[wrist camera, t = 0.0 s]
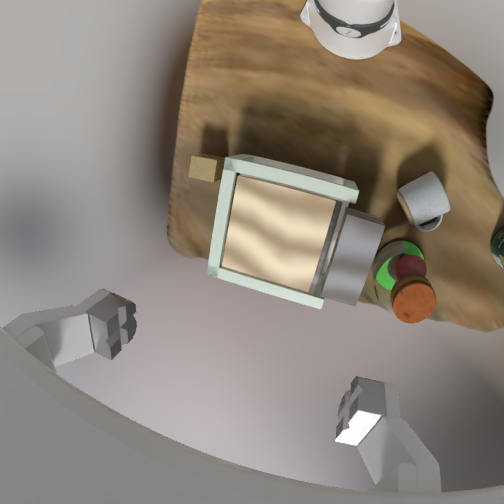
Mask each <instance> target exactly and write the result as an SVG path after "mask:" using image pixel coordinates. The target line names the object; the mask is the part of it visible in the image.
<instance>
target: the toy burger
mask: <svg viewBox="0 0 504 504" xmlns="http://www.w3.org/2000/svg"><path fill="white" fill-rule="evenodd" d="M371 273H372V279H373V284H374V282H375V278H376V279H377V280H378V282H379V283H380V284H381V285H382V286H383V287H384V288H386V289H388V290H391V296H390V298H391V303H392V307H393V311H394V313H395V315H396V317H397V318H398V319H400V320H401V321H403V322H405V323H417V322H420V321H422V320H424V319H426V318H427V317H428V316H429V315H430V314H431V313H432V311H433V309H434V307H435V304H436V295H435V292H434V290H433V288H432V286H431V284H430V283H429V281H428V280H427V279H426V278H425V275H426V264H425V261H424V257H423V255H422V253H421V251H420V250H419V248H418V247H417V246H416V245H414V244H413V243H411V242H408V241H395V242H392V243H390V244H388V245H386V246H385V247H384V248H383V249H382V250H381V251H380V252H379V253H378V255H377V257H376V258H375V260H374V262H373V265H372V270H371ZM374 289H375V293H376V296H377V298H378V295H377V290H376V287H375V284H374ZM378 301H379V300H378Z"/></svg>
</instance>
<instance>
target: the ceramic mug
mask: <svg viewBox="0 0 504 504" xmlns="http://www.w3.org/2000/svg"><path fill="white" fill-rule="evenodd" d="M397 197H398V200H399V202H400V204H401V207H402V209H403V211H404V213H405V215H406V217H407V219H408V221H409V223H410V224H411V225H416V227H417V228H418V229H419V230H420V231H423V232H428V231H431V230H434V229H435V228H437V227H438V226H439V224H440V223H441V221H442V217H443V214H444V213H447V212H448V211H449V210H450V204H449V200H448V197H447V194H446V192H445V190H444V187H443V185H442V183H441V181H440V180H439V179H438V177H437V175H436V174H435V173H433V172H428V173H427V174H425V175H423V176H421V177H419V178H417V179H415V180H414V181H412V182H410V183H408V184H406V185H404V186H402V187H401V188H400V189H399V190H398V191H397ZM437 216H438V217H437ZM435 217H437V218H436V220H435V221H434V222H432V223H430V224H427V225H424V226H420V225H419V224H422V223H424V222H426V221H428V220H430V219H433V218H435Z"/></svg>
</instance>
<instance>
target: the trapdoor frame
mask: <svg viewBox="0 0 504 504" xmlns="http://www.w3.org/2000/svg"><path fill="white" fill-rule="evenodd" d="M237 172H238V173H240V175H241V176H246V177H250V178H254V179H258V180H262V181H267V182H271V183H275V184H279V185H283V186H286V187H290V188H294V189H298V190H302V191H305V192H309V193H313V194H316V195H320V196H323V197H327V198H330V199H334V200H338V201H341V202H343V203H342V206H341V210H340V214H339V217H338V220H337V224H336V227H335V231H334V234H333V237H332V241H331V244H330V247H329V250H328V254H327V257H326V260H325V263H324V266H323V269H322V272H321V275H320V278H319V281H318V284H317V287H316V290H315V293H314V294H311V293H309V292H306V291H303V290H299V289H296V288H293V287H289V286H286V285H282V284H279V283H276V282H272V281H269V280H266V279H262V278H259V277H256V276H253V275H249V274H246V273H243V272H239V271H236V270H233V269H230V268H227V267H223V266H222V262H223V256H224V251H225V248H224V243H225V237H226V231H227V225H228V219H229V214H230V208H231V202H232V197H233V191H234V186H235V180H236V175H237ZM358 193H359V190H358V188H357V186H356V183H355V182H354V181H350V180H347V179H344V178H340V177H337V176H333V175H330V174H326V173H322V172H319V171H315V170H311V169H307V168H304V167H300V166H296V165H292V164H288V163H284V162H279V161H275V160H271V159H267V158H262V157H258V156H253V155H248V154H240V155H234V156H229V157H225V163H224V168H223V174H222V180H221V186H220V192H219V198H218V204H217V210H216V216H215V222H214V229H213V235H212V242H211V249H210V256H209V263H208V270H207V275H210V276H214V277H216V278H220V279H223V280H226V281H229V282H232V283H235V284H238V285H242V286H245V287H248V288H251V289H255V290H258V291H261V292H264V293H268V294H271V295H274V296H277V297H281V298H284V299H287V300H291V301H294V302H297V303H301V304H304V305H308V306H311V307H315V308H318V309H321V307H322V305H323V301H324V297H321V289H322V282H323V279H324V276H325V273H326V270H327V267H328V264H329V261H330V258H331V255H332V252H333V248H334V245H335V242H336V239H337V235H338V232H339V229H340V226H341V222H342V219H343V215H344V212H345V208H346V207H348V205H349V202H352V203H355V204H356V200H357V197H358Z"/></svg>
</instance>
